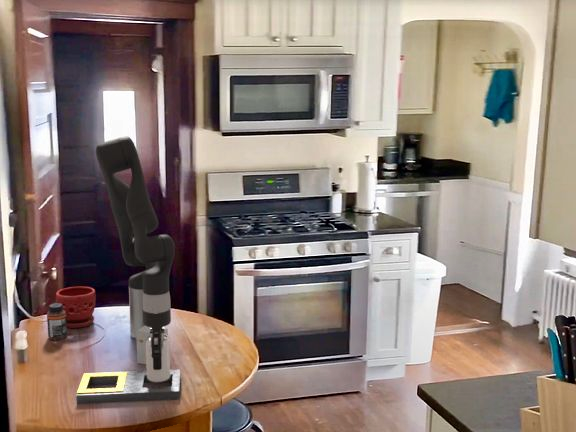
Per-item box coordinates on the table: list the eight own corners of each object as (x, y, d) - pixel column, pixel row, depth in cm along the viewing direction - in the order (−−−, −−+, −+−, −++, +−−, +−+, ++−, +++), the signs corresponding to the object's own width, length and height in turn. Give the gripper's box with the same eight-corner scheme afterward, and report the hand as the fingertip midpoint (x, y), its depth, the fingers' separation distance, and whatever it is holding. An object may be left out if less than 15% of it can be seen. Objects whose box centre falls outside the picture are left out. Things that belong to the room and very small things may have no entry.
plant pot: (104, 323, 247) (102, 290, 244) (70, 333, 237) (69, 299, 234) (83, 314, 255) (81, 282, 252) (50, 323, 245) (48, 290, 243)
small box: (169, 360, 216) (168, 327, 214) (160, 367, 211) (159, 334, 209) (146, 356, 219) (145, 324, 217) (136, 363, 214) (135, 330, 212)
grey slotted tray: (180, 377, 204) (180, 368, 204) (179, 399, 191) (178, 390, 190) (84, 381, 201) (84, 372, 201) (76, 404, 188) (76, 394, 187)
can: (165, 384, 193) (164, 343, 190) (143, 381, 194) (141, 341, 191) (173, 374, 199) (172, 334, 196) (152, 371, 200) (151, 332, 198)
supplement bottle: (50, 334, 236) (48, 302, 233) (68, 333, 236) (67, 301, 234) (46, 341, 230) (44, 308, 228) (64, 340, 230) (63, 307, 228)
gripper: (144, 298, 198) (146, 353, 202) (140, 316, 185) (142, 375, 188) (171, 297, 199) (172, 352, 203) (169, 315, 186) (170, 374, 189)
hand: (158, 363), depth 196 cm, fingers closed on can, 6 cm apart
